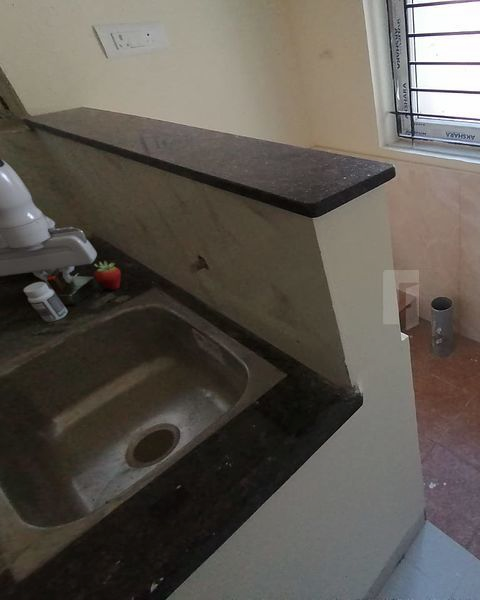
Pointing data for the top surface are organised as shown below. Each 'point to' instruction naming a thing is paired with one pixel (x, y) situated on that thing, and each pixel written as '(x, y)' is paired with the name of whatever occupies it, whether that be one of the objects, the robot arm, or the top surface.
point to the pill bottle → (45, 301)
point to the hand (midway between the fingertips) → (60, 282)
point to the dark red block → (56, 281)
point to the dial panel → (77, 290)
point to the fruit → (108, 275)
